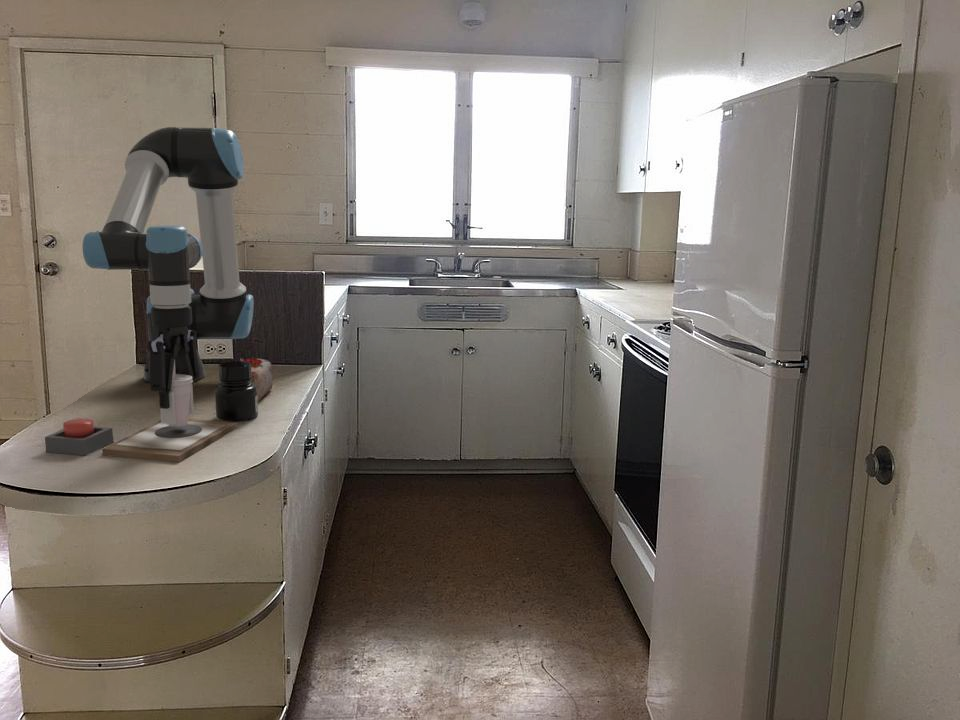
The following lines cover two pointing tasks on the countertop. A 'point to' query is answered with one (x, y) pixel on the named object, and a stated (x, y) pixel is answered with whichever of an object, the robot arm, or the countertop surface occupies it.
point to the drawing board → (170, 440)
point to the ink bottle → (236, 392)
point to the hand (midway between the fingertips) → (177, 418)
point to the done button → (78, 428)
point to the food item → (260, 375)
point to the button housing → (79, 442)
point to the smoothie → (181, 397)
